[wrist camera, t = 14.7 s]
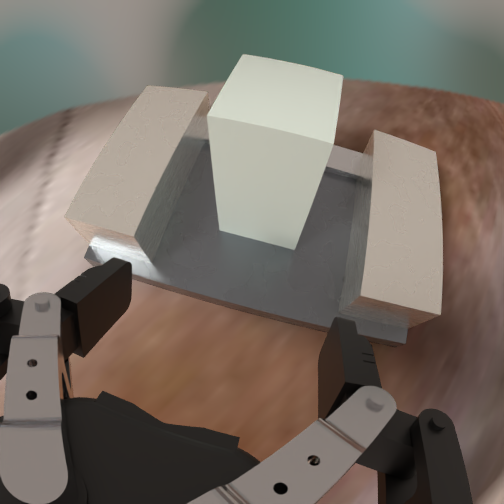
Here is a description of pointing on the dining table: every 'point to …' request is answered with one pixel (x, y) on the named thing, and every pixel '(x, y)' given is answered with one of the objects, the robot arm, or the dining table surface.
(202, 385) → the dining table surface
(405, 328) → the rail plate
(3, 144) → the dining table surface
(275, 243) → the block
